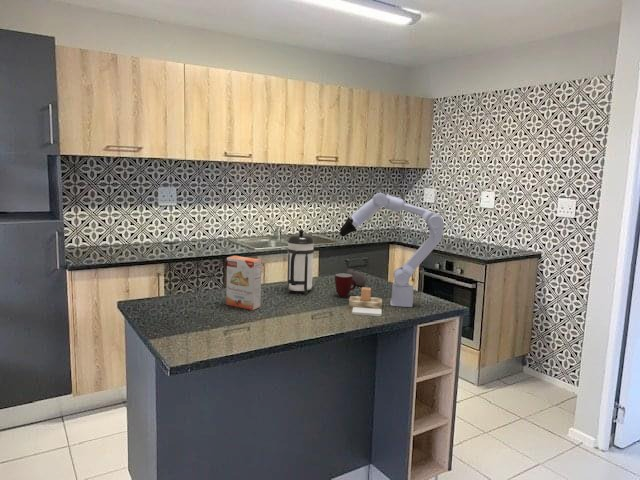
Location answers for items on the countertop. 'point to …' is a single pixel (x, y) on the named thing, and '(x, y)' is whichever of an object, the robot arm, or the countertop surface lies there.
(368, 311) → the mat
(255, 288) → the cracker box
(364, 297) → the plug
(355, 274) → the perforated stone tool
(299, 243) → the coffee press
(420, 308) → the countertop surface
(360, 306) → the beige holed block
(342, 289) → the mug
